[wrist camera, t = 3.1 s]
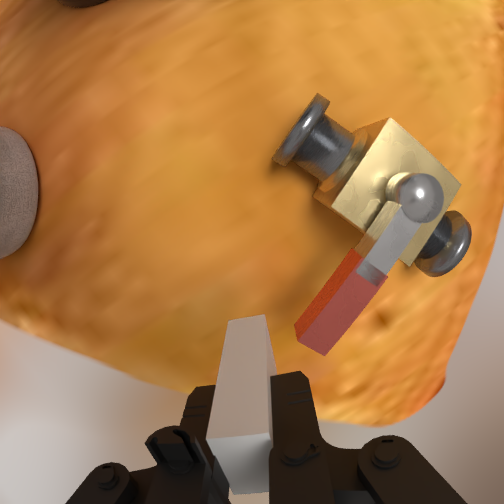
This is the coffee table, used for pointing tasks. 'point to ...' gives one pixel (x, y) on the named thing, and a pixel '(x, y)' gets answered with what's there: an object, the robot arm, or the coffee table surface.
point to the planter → (16, 191)
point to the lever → (370, 260)
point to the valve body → (375, 180)
